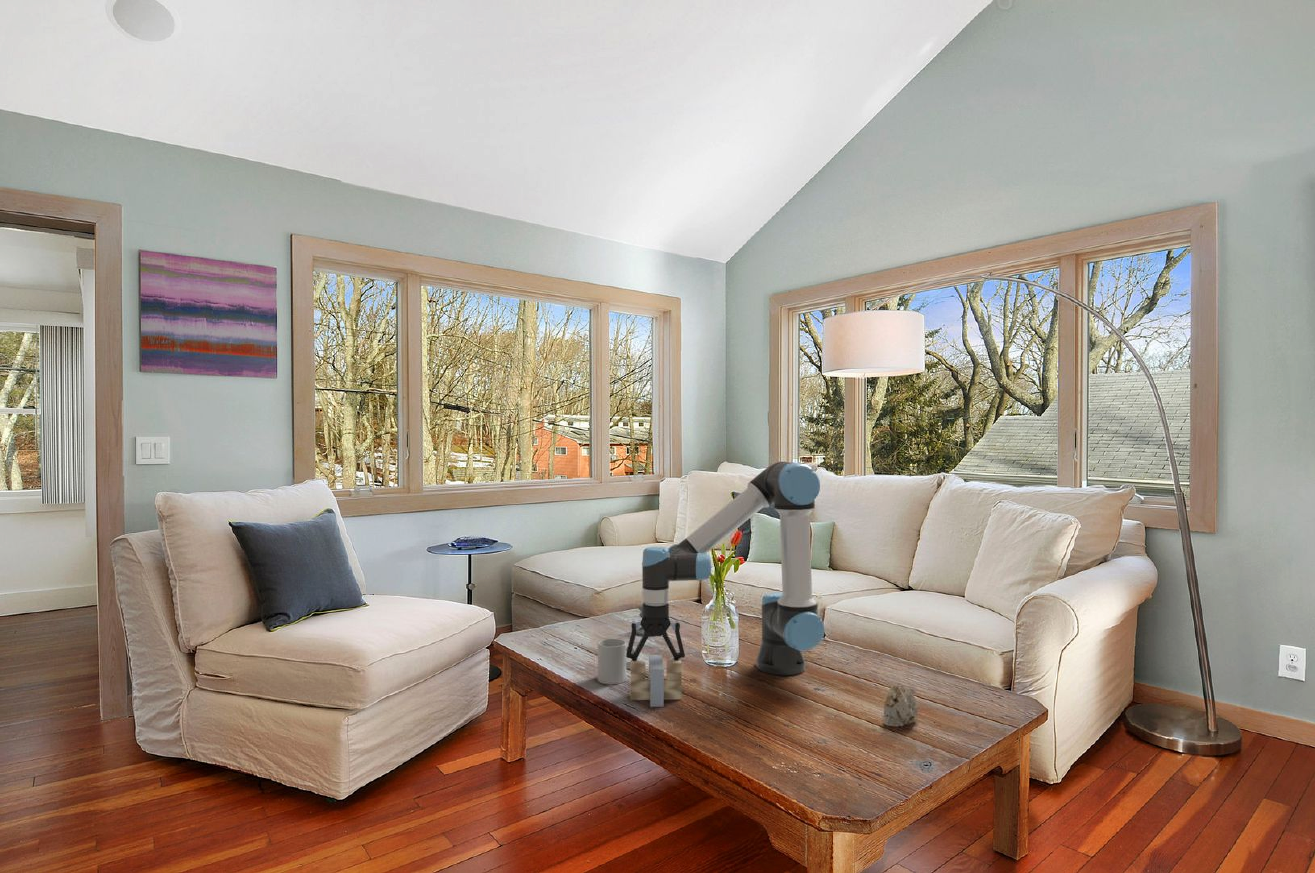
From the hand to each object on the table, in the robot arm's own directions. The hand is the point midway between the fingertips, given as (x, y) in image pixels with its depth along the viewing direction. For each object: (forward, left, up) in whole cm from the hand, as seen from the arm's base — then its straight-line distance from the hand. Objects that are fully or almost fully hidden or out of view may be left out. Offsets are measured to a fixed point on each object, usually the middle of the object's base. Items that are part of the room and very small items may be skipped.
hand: (655, 682), depth 194 cm
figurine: (0, -60, -3) cm, 60 cm away
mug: (+11, -12, -3) cm, 17 cm away
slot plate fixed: (0, +4, -3) cm, 5 cm away
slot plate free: (0, +4, -3) cm, 5 cm away
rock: (-63, +21, -3) cm, 66 cm away
